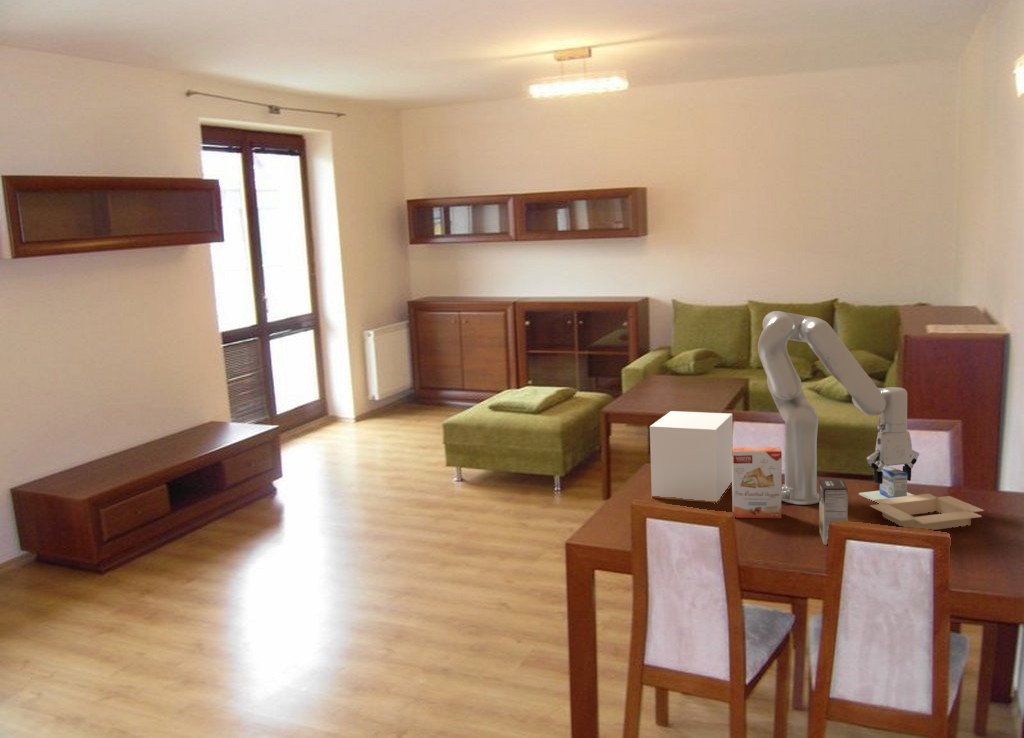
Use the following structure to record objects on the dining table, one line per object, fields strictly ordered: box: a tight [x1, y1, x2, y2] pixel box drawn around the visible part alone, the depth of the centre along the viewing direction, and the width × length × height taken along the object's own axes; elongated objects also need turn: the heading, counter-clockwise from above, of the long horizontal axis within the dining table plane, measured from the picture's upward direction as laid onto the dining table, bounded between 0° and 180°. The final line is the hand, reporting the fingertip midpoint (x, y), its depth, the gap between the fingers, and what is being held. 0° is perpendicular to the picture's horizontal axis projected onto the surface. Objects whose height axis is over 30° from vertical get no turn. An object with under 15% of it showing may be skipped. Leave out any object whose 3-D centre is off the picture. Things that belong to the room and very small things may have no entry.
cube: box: [649, 410, 734, 502], centre depth 280 cm, size 25×21×24 cm
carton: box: [869, 493, 985, 531], centre depth 240 cm, size 26×22×4 cm
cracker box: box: [731, 446, 783, 519], centre depth 251 cm, size 14×6×21 cm, turn 80°
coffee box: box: [818, 478, 849, 546], centre depth 229 cm, size 9×6×16 cm
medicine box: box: [879, 466, 908, 498], centre depth 261 cm, size 8×4×9 cm, turn 9°
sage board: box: [858, 489, 914, 504], centre depth 262 cm, size 14×14×1 cm
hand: (892, 481), depth 261 cm, fingers open, 9 cm apart
